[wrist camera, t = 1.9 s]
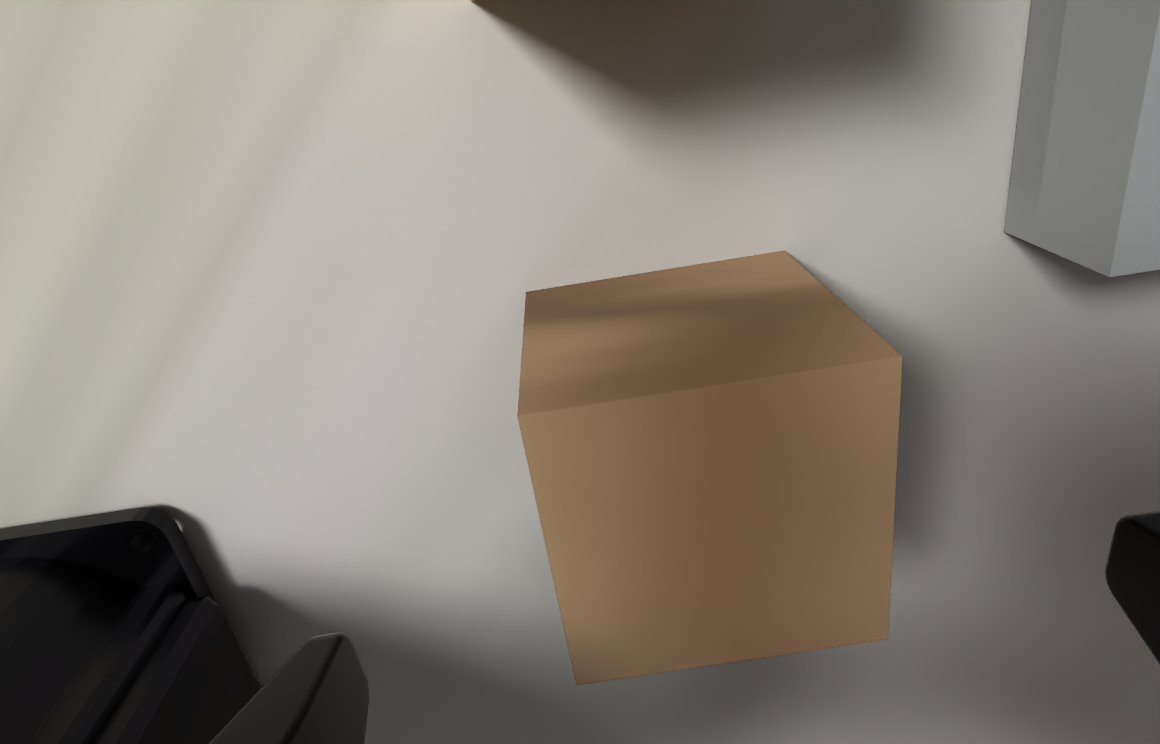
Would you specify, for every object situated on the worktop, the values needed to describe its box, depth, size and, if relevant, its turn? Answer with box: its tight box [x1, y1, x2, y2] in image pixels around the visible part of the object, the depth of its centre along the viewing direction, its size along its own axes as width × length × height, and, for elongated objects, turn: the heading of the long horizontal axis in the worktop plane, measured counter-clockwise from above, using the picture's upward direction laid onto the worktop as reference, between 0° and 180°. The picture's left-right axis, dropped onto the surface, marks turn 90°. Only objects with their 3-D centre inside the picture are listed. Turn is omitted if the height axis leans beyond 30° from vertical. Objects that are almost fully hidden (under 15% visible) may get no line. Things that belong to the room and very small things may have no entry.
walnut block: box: [518, 251, 903, 685], centre depth 11 cm, size 4×4×4 cm
